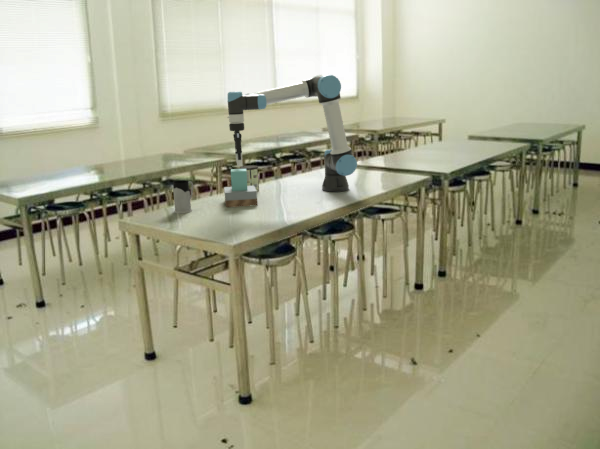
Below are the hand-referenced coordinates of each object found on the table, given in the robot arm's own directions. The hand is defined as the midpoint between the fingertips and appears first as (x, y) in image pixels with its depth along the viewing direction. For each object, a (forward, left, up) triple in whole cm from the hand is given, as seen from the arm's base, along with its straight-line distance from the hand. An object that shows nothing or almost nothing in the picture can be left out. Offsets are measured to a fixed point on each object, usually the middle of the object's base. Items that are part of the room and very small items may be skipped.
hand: (239, 164), depth 304 cm
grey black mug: (+17, +24, -21) cm, 36 cm away
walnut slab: (0, 0, -21) cm, 21 cm away
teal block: (+1, 0, -13) cm, 13 cm away
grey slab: (0, 0, -17) cm, 17 cm away
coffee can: (+14, -30, -21) cm, 39 cm away
